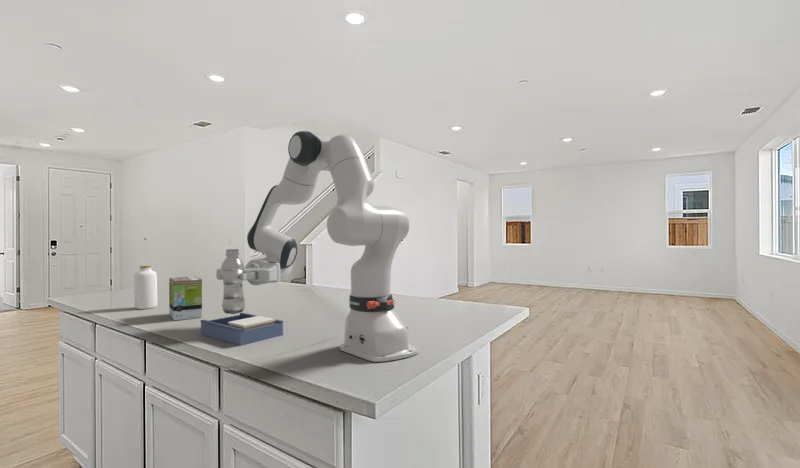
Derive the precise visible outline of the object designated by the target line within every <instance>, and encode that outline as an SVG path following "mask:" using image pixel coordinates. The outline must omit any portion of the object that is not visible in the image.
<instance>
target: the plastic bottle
mask: <svg viewBox="0 0 800 468" xmlns="http://www.w3.org/2000/svg"><path fill="white" fill-rule="evenodd" d="M225 256H226V257H225V259H224V260H223V261H222V263H221V265H220V268H221V270H222V276H223V280H222V282H223V283H222V284H223V297H222V298H223V299H222V304H221V308H222V311H223V312H224V314H231V315H236V314H240V313H244V311H245V307H246V300H245V297H244V290H243V281H244V280H240V279H239V277H240V276H239V275H240V274H243V269H244V267H245V265H244V263H243V261H242V260H241V259H240V257H239V256H240V253H239V249H237V248H229V249H225Z"/></svg>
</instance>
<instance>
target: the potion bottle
mask: <svg viewBox="0 0 800 468" xmlns="http://www.w3.org/2000/svg"><path fill="white" fill-rule="evenodd" d="M133 275H134V276H133V278H134V279H133V281H134V283H133V284H134V308H135V309H137V310H149V309H154V308H156V307H158V273H157V272H156V271H155V270H152V265H141V266H139V271H137V272H135V273H134V274H133Z"/></svg>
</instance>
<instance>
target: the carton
mask: <svg viewBox="0 0 800 468" xmlns="http://www.w3.org/2000/svg"><path fill="white" fill-rule="evenodd" d="M275 319H276V318H272V317H266V316H261V315H257V316H255V317H250V318H245V319H240V320H235V321H230V322H228V324H229V326H232V327H236V328H240V329H244V331H245V330H250V329H254V328H259V327H263V326H268V325H272V324H274V321H275Z"/></svg>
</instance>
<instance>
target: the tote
mask: <svg viewBox="0 0 800 468" xmlns="http://www.w3.org/2000/svg"><path fill="white" fill-rule="evenodd" d="M255 316H258V315H256V314H251V313H246V312H240V313H239V314H238V315H236V314H235V315H233V316H227V317H220V318H216V319H209V320H207V319H200V334H201V335H203V336H206V337H210V338H213V339H216V340H219V341H223V342H226V343H231V344H233V345H236V346H241V347H242V346H246V345H249V344H255V343H258V342H261V341H265V340H269V339H270V340H271V339H274V338H277V337H278V338H279V337H281V336H284V320H282V319H281V320H280V319H276V318H274V319H275V321H274V324H272V325H268V326H263V327H259V328H254V329H250V330H245V331H244V329H240V328H236V327H232V326H229V324H228V322H230V321H235V320H240V319H245V318H250V317H255Z"/></svg>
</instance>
